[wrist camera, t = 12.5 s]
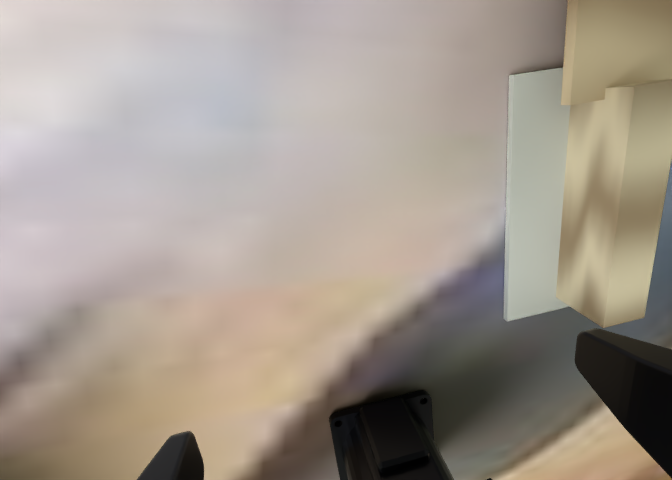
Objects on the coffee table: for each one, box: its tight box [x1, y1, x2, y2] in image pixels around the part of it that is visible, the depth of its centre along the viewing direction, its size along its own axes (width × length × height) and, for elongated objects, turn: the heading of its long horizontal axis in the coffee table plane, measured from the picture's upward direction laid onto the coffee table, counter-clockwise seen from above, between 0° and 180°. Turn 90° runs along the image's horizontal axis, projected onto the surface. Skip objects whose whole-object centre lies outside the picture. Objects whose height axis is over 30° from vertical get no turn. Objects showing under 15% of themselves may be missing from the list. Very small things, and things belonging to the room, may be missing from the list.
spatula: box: [556, 0, 672, 328], centre depth 19 cm, size 20×6×4 cm, turn 8°
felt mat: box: [503, 67, 570, 321], centre depth 22 cm, size 14×9×1 cm, turn 8°
